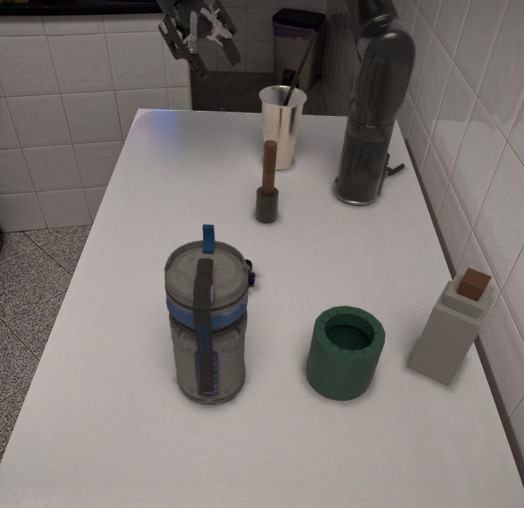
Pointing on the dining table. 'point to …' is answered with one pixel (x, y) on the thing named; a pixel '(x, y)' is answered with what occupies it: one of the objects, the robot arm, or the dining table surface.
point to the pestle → (268, 186)
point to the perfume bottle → (453, 326)
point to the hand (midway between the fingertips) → (221, 70)
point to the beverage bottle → (208, 317)
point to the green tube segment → (344, 352)
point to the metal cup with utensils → (284, 113)
